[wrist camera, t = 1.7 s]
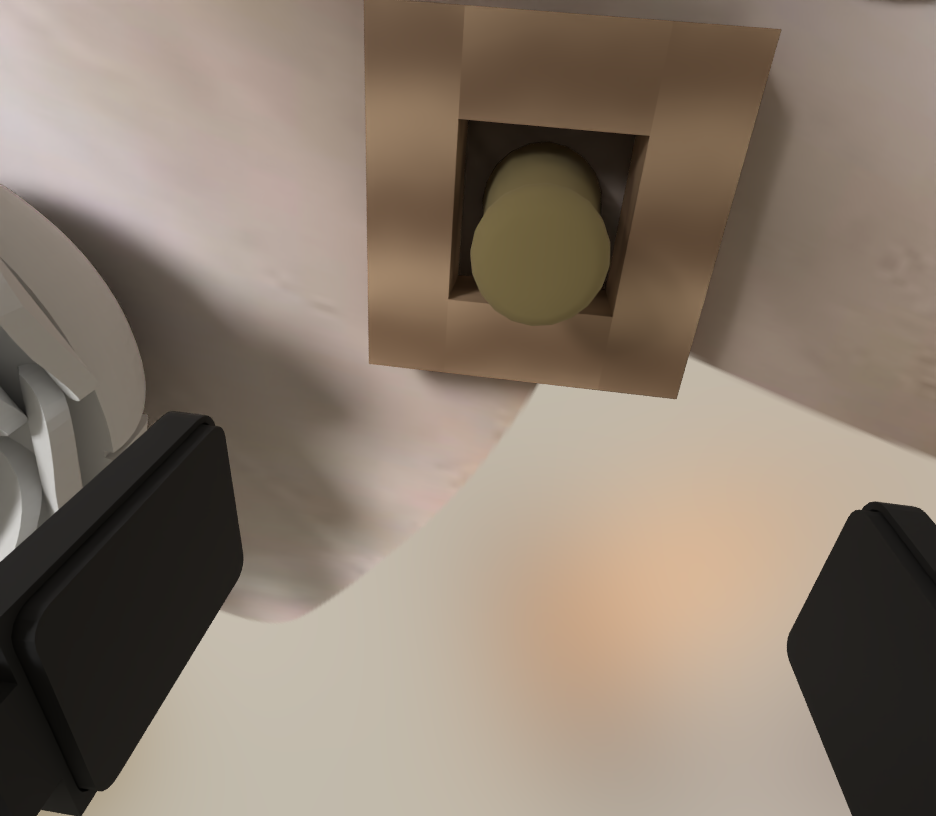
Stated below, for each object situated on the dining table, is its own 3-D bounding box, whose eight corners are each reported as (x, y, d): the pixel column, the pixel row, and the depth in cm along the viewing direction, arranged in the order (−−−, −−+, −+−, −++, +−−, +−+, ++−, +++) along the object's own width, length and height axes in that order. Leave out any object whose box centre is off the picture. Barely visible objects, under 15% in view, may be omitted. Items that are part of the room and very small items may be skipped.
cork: (624, 172, 29) (661, 224, 20) (568, 282, 32) (577, 373, 23) (510, 120, 29) (493, 148, 19) (464, 237, 32) (430, 311, 22)
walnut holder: (387, 5, 27) (363, -3, 23) (750, 34, 26) (781, 29, 22) (386, 334, 35) (368, 363, 31) (663, 365, 34) (676, 399, 30)
